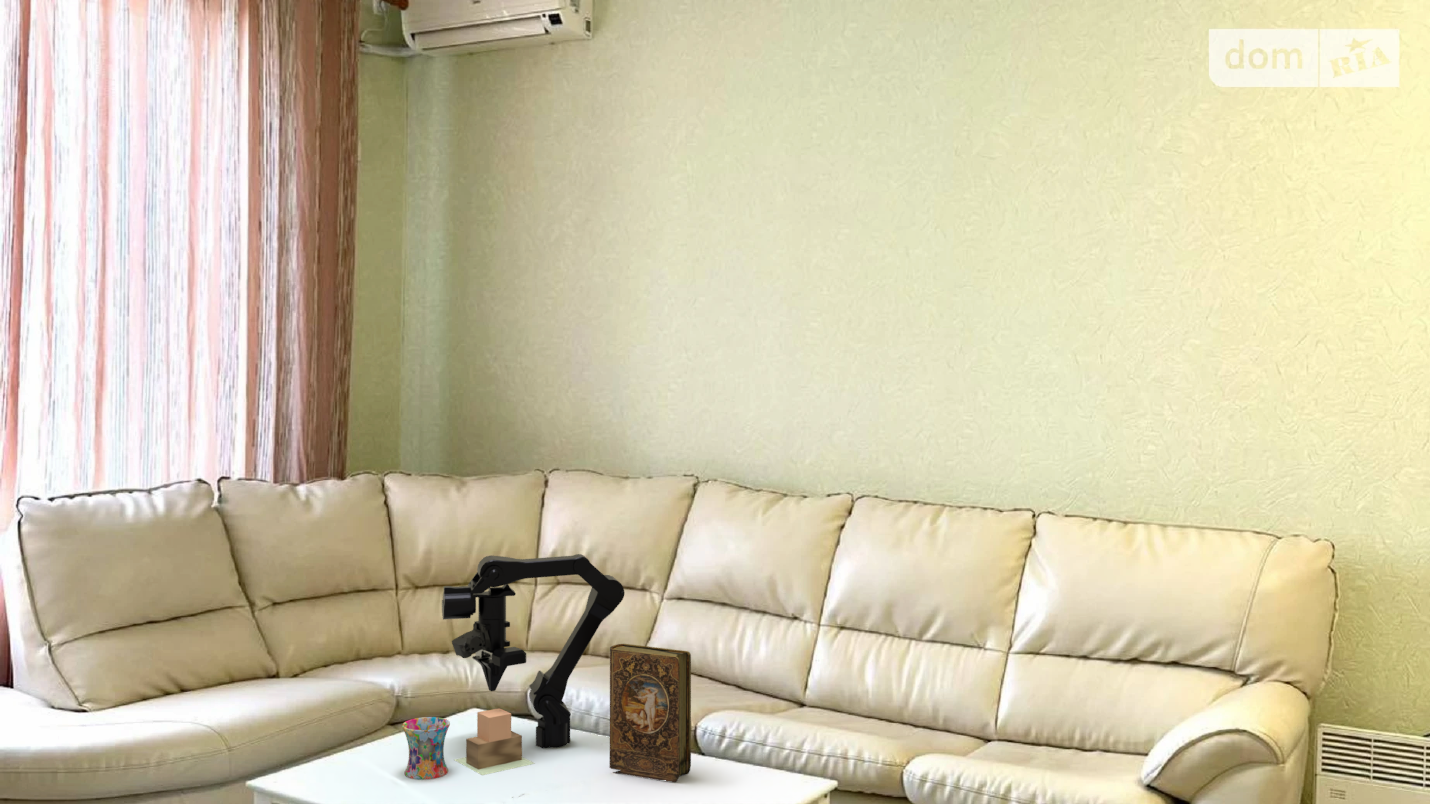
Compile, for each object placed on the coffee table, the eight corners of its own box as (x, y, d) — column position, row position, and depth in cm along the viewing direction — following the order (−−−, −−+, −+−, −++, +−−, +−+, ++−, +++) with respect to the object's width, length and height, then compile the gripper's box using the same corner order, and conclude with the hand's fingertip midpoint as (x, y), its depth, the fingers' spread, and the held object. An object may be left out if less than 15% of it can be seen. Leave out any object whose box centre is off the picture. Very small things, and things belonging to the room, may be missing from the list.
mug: (437, 786, 256) (437, 732, 256) (393, 781, 258) (393, 728, 258) (464, 766, 268) (463, 715, 267) (422, 762, 270) (421, 711, 269)
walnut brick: (509, 753, 274) (509, 729, 273) (521, 759, 270) (521, 735, 270) (466, 763, 268) (466, 738, 267) (478, 769, 264) (478, 744, 263)
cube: (477, 736, 269) (477, 712, 269) (499, 732, 272) (499, 708, 272) (489, 742, 265) (489, 717, 265) (511, 737, 268) (511, 713, 268)
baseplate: (505, 752, 277) (505, 748, 277) (534, 767, 268) (534, 763, 268) (453, 763, 270) (453, 759, 270) (482, 779, 260) (482, 775, 260)
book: (605, 771, 265) (605, 648, 264) (618, 763, 270) (619, 643, 269) (678, 783, 258) (679, 657, 257) (690, 775, 263) (691, 651, 262)
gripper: (436, 614, 278) (436, 687, 279) (479, 629, 264) (479, 707, 265) (483, 608, 285) (483, 679, 286) (527, 622, 271) (527, 698, 271)
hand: (492, 690), depth 277 cm, fingers closed
